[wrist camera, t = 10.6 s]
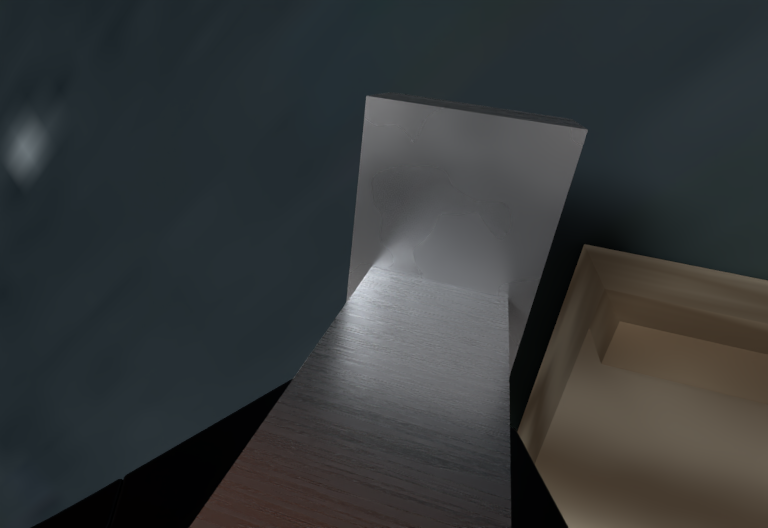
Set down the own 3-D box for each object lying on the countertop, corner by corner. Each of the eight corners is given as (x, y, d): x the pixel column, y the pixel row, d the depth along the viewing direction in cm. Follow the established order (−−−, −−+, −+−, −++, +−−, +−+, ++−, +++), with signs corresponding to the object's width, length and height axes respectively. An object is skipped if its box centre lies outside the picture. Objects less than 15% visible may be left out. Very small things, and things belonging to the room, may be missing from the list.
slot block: (769, 589, 22) (855, 757, 16) (492, 502, 24) (488, 623, 19) (1009, 328, 15) (1297, 474, 9) (584, 244, 17) (619, 321, 12)
